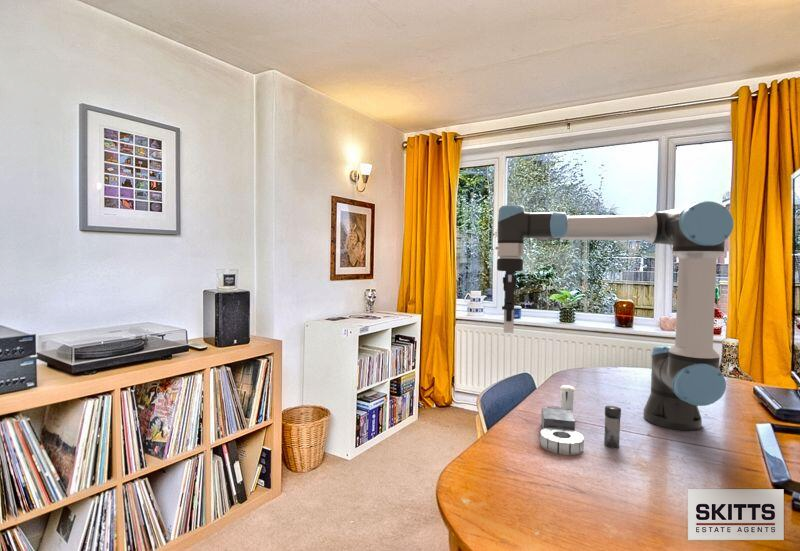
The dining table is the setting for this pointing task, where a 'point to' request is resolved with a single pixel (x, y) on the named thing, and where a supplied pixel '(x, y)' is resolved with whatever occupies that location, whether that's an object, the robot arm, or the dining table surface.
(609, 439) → the black capped grinder
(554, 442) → the grey block with disc
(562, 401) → the milkshake
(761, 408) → the dining table surface
